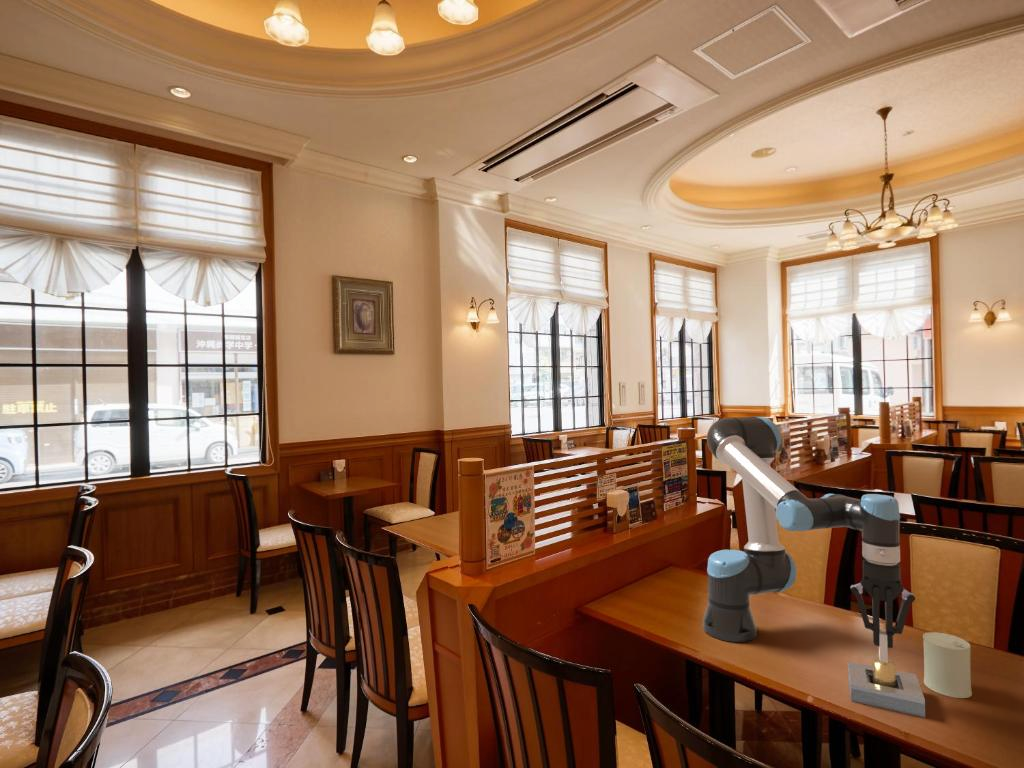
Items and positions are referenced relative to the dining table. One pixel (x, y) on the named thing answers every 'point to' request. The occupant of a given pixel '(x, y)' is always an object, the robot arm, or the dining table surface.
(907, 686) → the block
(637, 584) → the dining table surface
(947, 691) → the can
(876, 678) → the golden yellow cylinder
